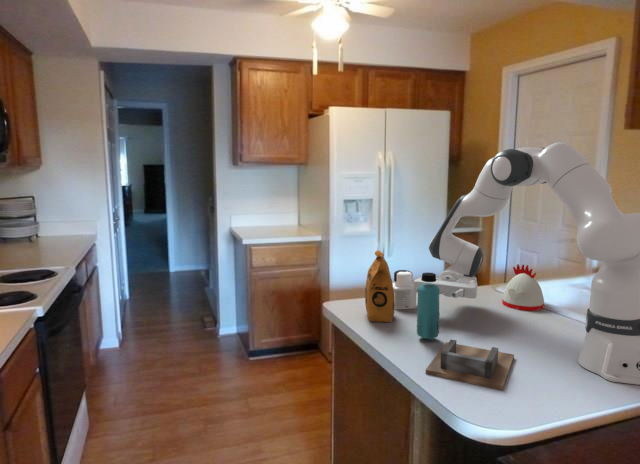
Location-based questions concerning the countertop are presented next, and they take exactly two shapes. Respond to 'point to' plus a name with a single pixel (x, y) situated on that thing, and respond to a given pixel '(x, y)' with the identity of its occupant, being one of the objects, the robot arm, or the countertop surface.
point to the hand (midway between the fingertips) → (439, 293)
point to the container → (404, 290)
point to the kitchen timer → (523, 291)
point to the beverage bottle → (428, 307)
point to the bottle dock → (472, 365)
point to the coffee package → (379, 291)
